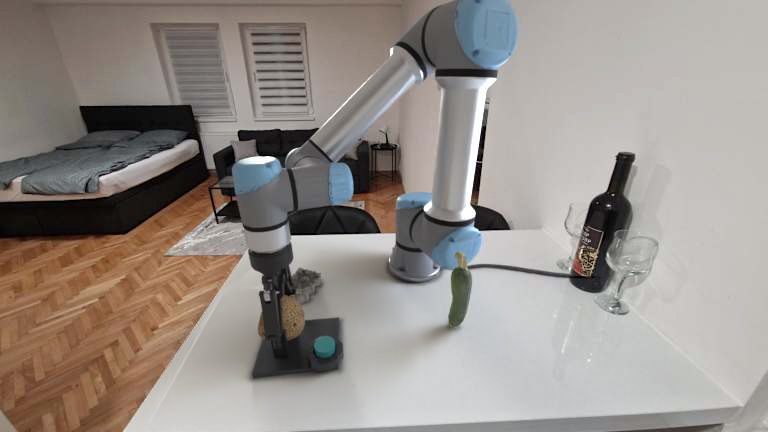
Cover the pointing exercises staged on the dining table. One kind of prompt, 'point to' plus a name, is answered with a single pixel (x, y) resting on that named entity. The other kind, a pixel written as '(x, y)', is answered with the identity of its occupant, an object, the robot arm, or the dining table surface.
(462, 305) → the vegetable
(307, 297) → the grey rock
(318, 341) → the tare button
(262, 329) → the natural sponge
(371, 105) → the robot arm
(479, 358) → the dining table surface
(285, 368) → the scale
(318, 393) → the dining table surface
